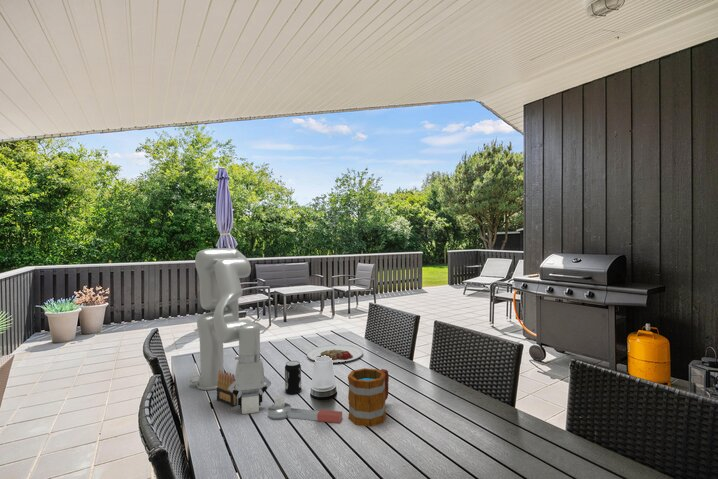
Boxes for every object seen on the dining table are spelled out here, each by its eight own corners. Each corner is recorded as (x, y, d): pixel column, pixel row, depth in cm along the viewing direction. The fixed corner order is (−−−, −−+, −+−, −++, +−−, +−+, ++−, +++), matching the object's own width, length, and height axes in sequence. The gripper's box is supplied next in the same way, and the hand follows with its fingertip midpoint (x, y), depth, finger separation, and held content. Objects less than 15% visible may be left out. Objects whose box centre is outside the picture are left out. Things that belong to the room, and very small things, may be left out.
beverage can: (297, 395, 153) (297, 365, 153) (282, 394, 155) (282, 365, 154) (303, 389, 160) (303, 360, 160) (288, 388, 161) (288, 359, 161)
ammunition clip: (237, 405, 145) (236, 373, 145) (233, 406, 144) (232, 375, 144) (220, 398, 152) (220, 368, 152) (216, 400, 150) (216, 369, 150)
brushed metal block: (241, 414, 137) (241, 395, 137) (242, 407, 143) (241, 388, 143) (258, 411, 139) (258, 393, 139) (258, 404, 145) (258, 386, 145)
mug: (371, 430, 124) (370, 385, 124) (340, 419, 133) (339, 376, 133) (403, 408, 140) (402, 368, 140) (373, 399, 148) (372, 361, 148)
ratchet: (264, 418, 134) (264, 401, 134) (274, 408, 142) (274, 392, 142) (337, 426, 128) (337, 408, 128) (344, 415, 135) (343, 398, 135)
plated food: (315, 347, 221) (315, 341, 221) (366, 348, 217) (366, 342, 217) (300, 364, 191) (299, 357, 191) (358, 366, 187) (358, 359, 187)
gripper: (224, 363, 135) (225, 413, 135) (274, 358, 140) (274, 406, 140) (225, 356, 142) (226, 404, 142) (272, 352, 147) (273, 398, 147)
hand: (250, 405), depth 141 cm, fingers closed on brushed metal block, 6 cm apart
